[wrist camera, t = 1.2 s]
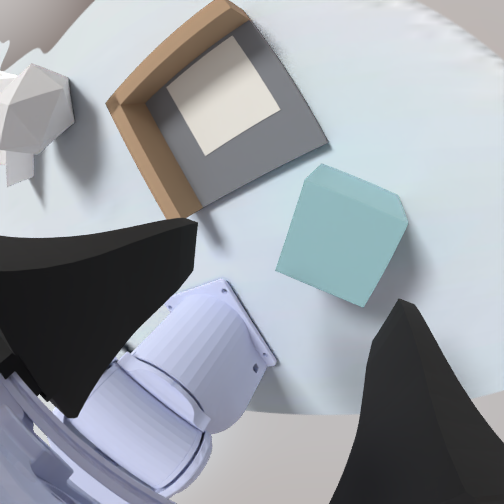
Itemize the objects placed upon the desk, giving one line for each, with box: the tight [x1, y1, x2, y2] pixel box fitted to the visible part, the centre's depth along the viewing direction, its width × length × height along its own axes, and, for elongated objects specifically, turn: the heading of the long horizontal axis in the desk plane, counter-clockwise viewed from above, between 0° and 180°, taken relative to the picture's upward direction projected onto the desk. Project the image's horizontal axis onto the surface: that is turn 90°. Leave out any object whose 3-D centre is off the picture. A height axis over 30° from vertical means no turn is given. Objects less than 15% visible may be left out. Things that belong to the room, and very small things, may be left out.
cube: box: [275, 164, 408, 308], centre depth 15 cm, size 5×5×5 cm
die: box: [0, 63, 75, 155], centre depth 18 cm, size 8×9×10 cm
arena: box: [105, 0, 328, 219], centre depth 16 cm, size 10×11×3 cm
